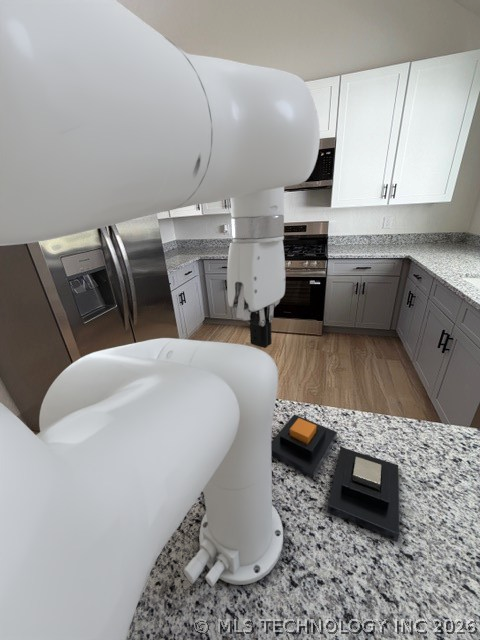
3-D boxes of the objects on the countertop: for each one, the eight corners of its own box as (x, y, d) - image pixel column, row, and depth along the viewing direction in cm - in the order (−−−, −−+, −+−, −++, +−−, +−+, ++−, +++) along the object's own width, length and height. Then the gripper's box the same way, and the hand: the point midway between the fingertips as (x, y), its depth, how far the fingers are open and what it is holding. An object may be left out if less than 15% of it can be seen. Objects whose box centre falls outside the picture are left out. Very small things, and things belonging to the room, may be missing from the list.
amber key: (307, 444, 53) (308, 437, 53) (289, 436, 56) (289, 428, 55) (316, 432, 56) (316, 425, 56) (298, 424, 59) (298, 417, 58)
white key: (378, 492, 44) (380, 484, 43) (352, 482, 45) (353, 474, 45) (379, 472, 47) (381, 464, 46) (354, 464, 49) (355, 456, 48)
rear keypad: (313, 479, 50) (314, 464, 48) (266, 453, 56) (266, 440, 54) (336, 438, 58) (337, 425, 57) (294, 419, 64) (294, 407, 63)
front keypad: (397, 542, 40) (401, 526, 38) (326, 512, 44) (328, 496, 43) (397, 471, 50) (400, 457, 49) (340, 453, 55) (341, 439, 54)
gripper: (264, 227, 47) (266, 326, 54) (203, 234, 36) (214, 356, 43) (304, 226, 43) (301, 333, 49) (248, 234, 32) (253, 370, 38)
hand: (260, 344), depth 46 cm, fingers closed
